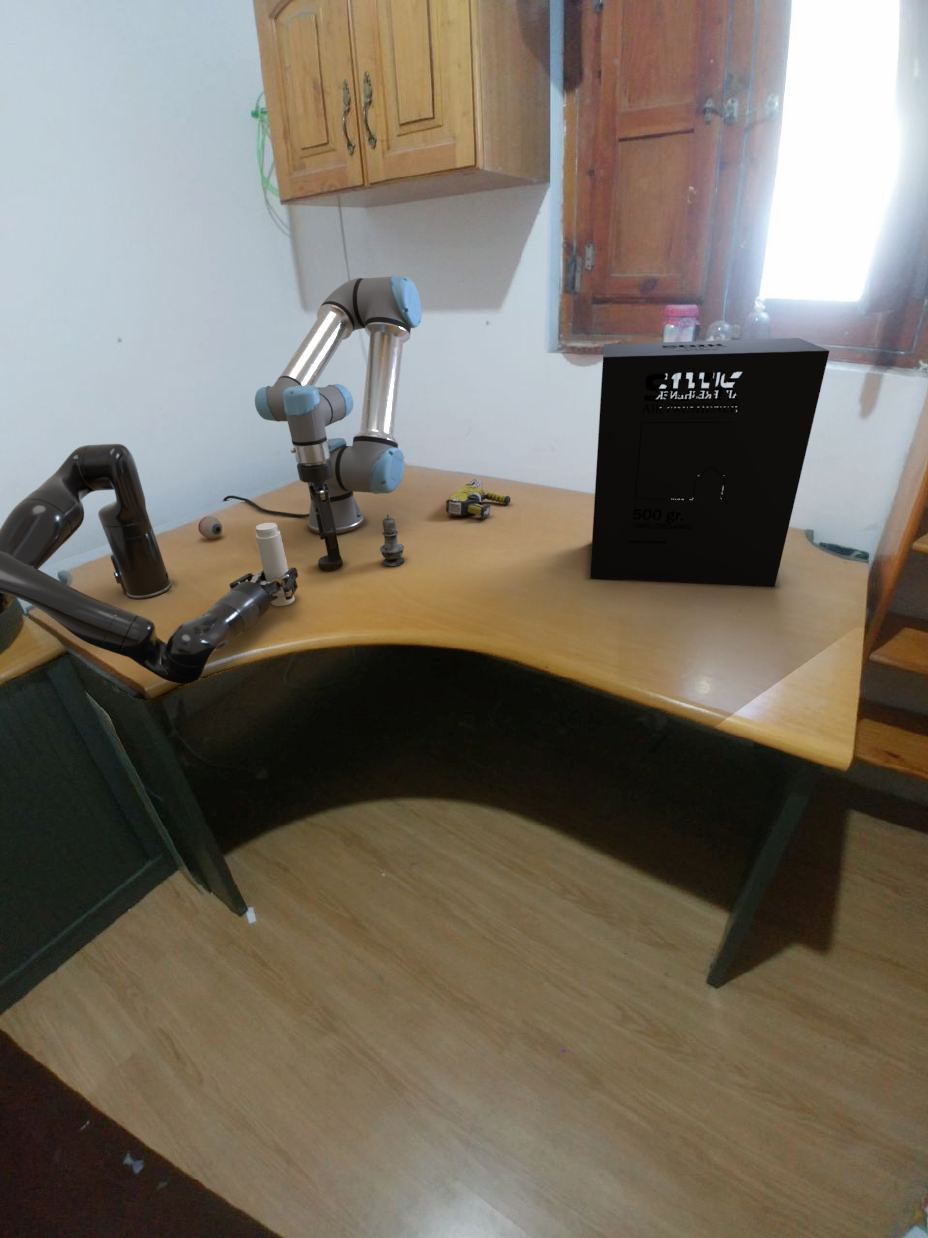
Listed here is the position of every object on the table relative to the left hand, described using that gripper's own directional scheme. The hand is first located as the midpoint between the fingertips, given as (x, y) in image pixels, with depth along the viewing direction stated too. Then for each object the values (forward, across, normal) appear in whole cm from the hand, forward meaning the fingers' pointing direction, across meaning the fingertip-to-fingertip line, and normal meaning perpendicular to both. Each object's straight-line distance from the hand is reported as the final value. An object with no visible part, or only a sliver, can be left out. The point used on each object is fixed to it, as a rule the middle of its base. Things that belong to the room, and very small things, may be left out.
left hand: (283, 570), depth 130 cm
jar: (-3, 0, -6) cm, 7 cm away
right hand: (+16, +3, -2) cm, 17 cm away
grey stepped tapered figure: (+20, +17, -6) cm, 27 cm away
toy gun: (+61, +30, -6) cm, 68 cm away
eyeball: (+28, -38, -6) cm, 48 cm away
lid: (+15, +3, -4) cm, 16 cm away
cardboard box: (+28, +83, -6) cm, 88 cm away
